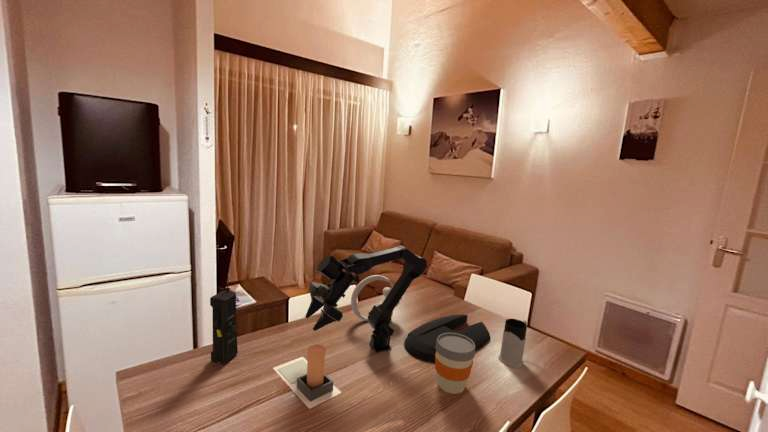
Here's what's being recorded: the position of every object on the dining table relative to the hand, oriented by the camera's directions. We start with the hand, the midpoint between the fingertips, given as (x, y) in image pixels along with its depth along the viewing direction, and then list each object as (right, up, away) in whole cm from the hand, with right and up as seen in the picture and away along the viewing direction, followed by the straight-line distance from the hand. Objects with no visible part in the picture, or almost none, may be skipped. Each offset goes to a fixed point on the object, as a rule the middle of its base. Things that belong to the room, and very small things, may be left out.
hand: (309, 323), depth 115 cm
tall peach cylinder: (+4, -16, -12) cm, 20 cm away
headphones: (+21, -10, +36) cm, 43 cm away
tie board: (0, -16, -8) cm, 18 cm away
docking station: (+50, -15, +25) cm, 58 cm away
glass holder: (+75, -18, +15) cm, 78 cm away
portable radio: (-29, -12, +1) cm, 32 cm away
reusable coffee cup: (+47, -19, -3) cm, 51 cm away
